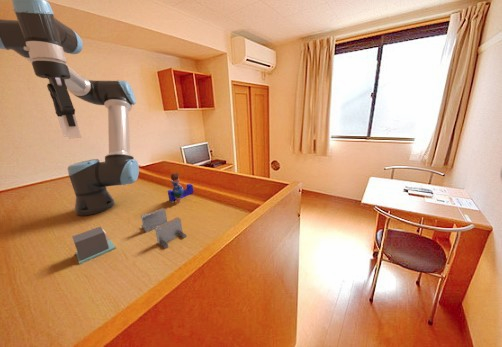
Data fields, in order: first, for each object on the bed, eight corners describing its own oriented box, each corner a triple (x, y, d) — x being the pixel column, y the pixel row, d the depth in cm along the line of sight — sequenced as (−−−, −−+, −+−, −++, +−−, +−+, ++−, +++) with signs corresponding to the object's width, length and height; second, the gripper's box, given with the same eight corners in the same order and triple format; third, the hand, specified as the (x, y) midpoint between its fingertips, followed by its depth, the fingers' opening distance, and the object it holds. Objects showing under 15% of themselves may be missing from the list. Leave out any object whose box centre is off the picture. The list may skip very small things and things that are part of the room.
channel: (141, 227, 74) (138, 213, 72) (162, 219, 80) (159, 205, 78) (164, 249, 61) (160, 232, 60) (187, 237, 67) (184, 221, 65)
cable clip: (189, 193, 106) (187, 183, 104) (194, 195, 103) (192, 184, 101) (168, 201, 97) (166, 190, 95) (172, 203, 94) (170, 192, 93)
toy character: (191, 204, 92) (186, 174, 88) (181, 208, 89) (176, 176, 84) (178, 198, 100) (174, 169, 96) (169, 201, 97) (164, 171, 93)
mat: (75, 253, 61) (75, 252, 61) (109, 240, 67) (109, 238, 67) (79, 264, 56) (79, 262, 56) (115, 248, 63) (115, 247, 63)
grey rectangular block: (77, 253, 60) (72, 236, 59) (106, 241, 66) (101, 225, 64) (80, 260, 57) (74, 243, 55) (110, 247, 62) (105, 231, 61)
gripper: (30, 68, 62) (52, 136, 68) (31, 49, 46) (60, 140, 52) (62, 71, 67) (80, 134, 73) (73, 55, 51) (95, 137, 57)
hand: (72, 137), depth 63 cm, fingers open, 13 cm apart
